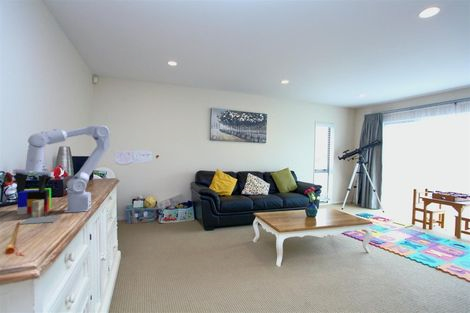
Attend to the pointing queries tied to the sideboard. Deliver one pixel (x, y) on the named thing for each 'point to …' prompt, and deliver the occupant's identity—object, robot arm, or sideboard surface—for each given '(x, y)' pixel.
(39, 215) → the tile
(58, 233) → the sideboard surface
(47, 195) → the puzzle toy
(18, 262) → the sideboard surface
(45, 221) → the mat
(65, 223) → the sideboard surface
